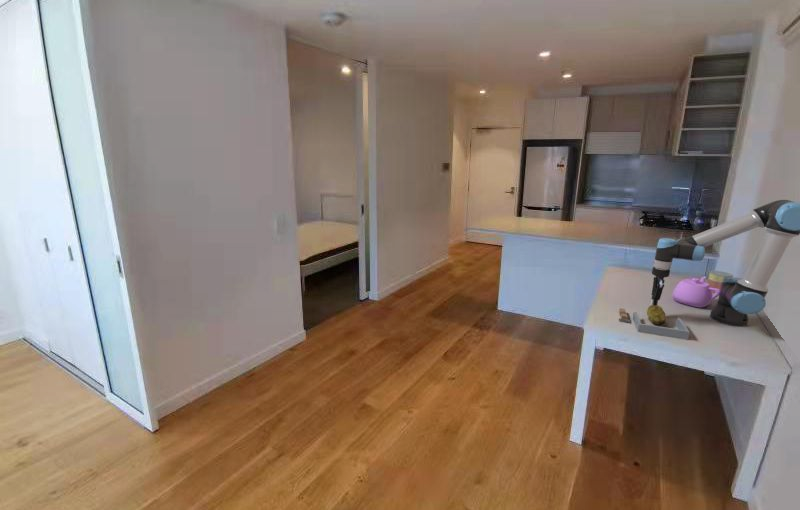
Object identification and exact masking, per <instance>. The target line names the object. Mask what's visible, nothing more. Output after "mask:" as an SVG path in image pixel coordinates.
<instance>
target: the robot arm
mask: <svg viewBox="0 0 800 510" xmlns="http://www.w3.org/2000/svg"><path fill="white" fill-rule="evenodd" d="M757 228H761V229H762V228H764V229H765V231H766V233H765V236H764V237H763V239H762V241H761V243H760V245H759V247H758V249H757V250H756V252H755V254H754V256H753V259H752V260H751V262H750V264H749V266H748V268H747V270H746V272H745V274H744V276H743V277H742V278H741V277H734V276H733V277H725V278H724V279H723V282H722V286H721V290H720V294H719V296H718V299H717V303H716V304H715V306H714V307H713V308H712V310H710V314H709V317H710V318H711V319H712V320H714V321H715V322H718V323H721V324H725V325H729V326H735V327H745V326H748V322H749V316H748V315H754V314H758V313H760V312H761V311H762V310H764V309H765V307H766V299H765V298H766V296H767V294H768V292H769V288H768V287H767V285H768V283H769V282H770V279H771V278H772V276H773V273H774V272H775V270H776V268H777V266H778V265H779V263H780V262H781V259H782V257H783V256H784V253H785V252H786V250H787V248H788V246H789V244H790V243H791V241H792V239H793V238H795V237H799V236H800V202H798V201H792V200H790V199H789V200H787V199H780V200H779V199H778V200H774V201H771V202H769V203H766V204H763V205H761V206H759V207H757V208H754V209H752V210H751V209H750V212H749V213H746V214H745V215H742V216H740V217H737V218H735V219H732V220H729V221H727V222H725V223H724V222H723V223H721V224H719V225H716V226H715V227H711V228H709V229H707V230H704V231H702V232H698V233H696V234H694V235H692V236H688V237H686V238H679V239H677V240H676V239H673V238H666V237H664V238H663V237H661V238H658V239H659V240H658V242H657V246H656V251H655V255H654V260H652V263H653V267H652V270H651V275H653V276H654V277H653V283H652V289H651V298H650V300H651V302H650V305H649V306H651V305H659V304H658V303H659V301H660V300H661V297H662V293H663V290H664V288H665V278H668V277H670V273H671V269H672V265H673V259H677V260H685V261H693V262H694V261H696V262H701V261H703V260H704V258H705V255H706V249H705V248H706V247H709V246H711V245H713V244H717V243H719V242H722V241H724V240H728V239H730V238H734V237H736V236H738V235H741V234H743V233H746V232H749V231H751V230H754V229H757Z"/></svg>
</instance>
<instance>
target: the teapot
mask: <svg viewBox="0 0 800 510" xmlns="http://www.w3.org/2000/svg"><path fill="white" fill-rule="evenodd" d="M706 279H707V277H706V276H705V275H704V276H703V275H702V277H700V279H699V278H696V277H693V278H684V279H682V280H680V281H679V282H678V283H677V285H676V286H675V288H674V290H673V291H672V298H673V300H674V301H675V302H678V303H679V304H684V305H687V306H692V307H694V308H704V307H707V306H709V305H710V304H711V303H712V301H713V300H714V299H715V298H717V297H719V294H720V289H717V288H711V286H710V284H708V283H707V282H706ZM712 290H714V291H715V293H712Z"/></svg>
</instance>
